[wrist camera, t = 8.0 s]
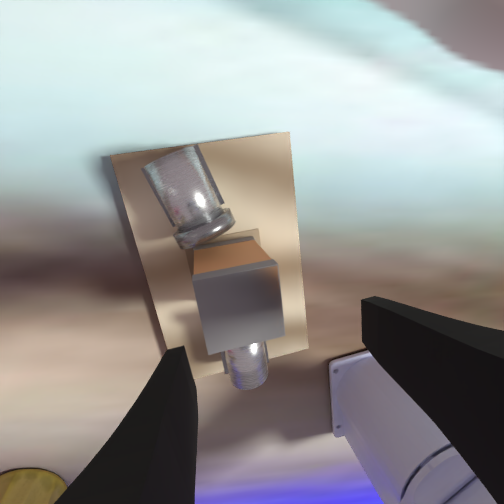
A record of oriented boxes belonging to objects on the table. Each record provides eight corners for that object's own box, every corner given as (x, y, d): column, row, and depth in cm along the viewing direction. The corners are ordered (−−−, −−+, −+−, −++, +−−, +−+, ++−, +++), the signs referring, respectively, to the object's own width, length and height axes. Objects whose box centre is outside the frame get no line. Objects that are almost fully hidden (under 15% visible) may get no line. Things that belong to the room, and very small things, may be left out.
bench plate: (304, 342, 23) (309, 349, 22) (178, 376, 21) (177, 384, 20) (285, 133, 17) (290, 131, 17) (113, 156, 16) (109, 155, 15)
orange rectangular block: (259, 288, 19) (285, 335, 14) (204, 300, 19) (208, 354, 13) (252, 236, 18) (278, 264, 12) (193, 246, 17) (192, 281, 12)
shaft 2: (262, 343, 22) (280, 387, 17) (220, 354, 21) (227, 402, 17) (255, 293, 20) (272, 327, 16) (209, 304, 20) (214, 342, 15)
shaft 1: (229, 213, 18) (240, 226, 14) (182, 235, 18) (177, 256, 13) (198, 147, 17) (199, 136, 12) (146, 170, 16) (127, 168, 12)
